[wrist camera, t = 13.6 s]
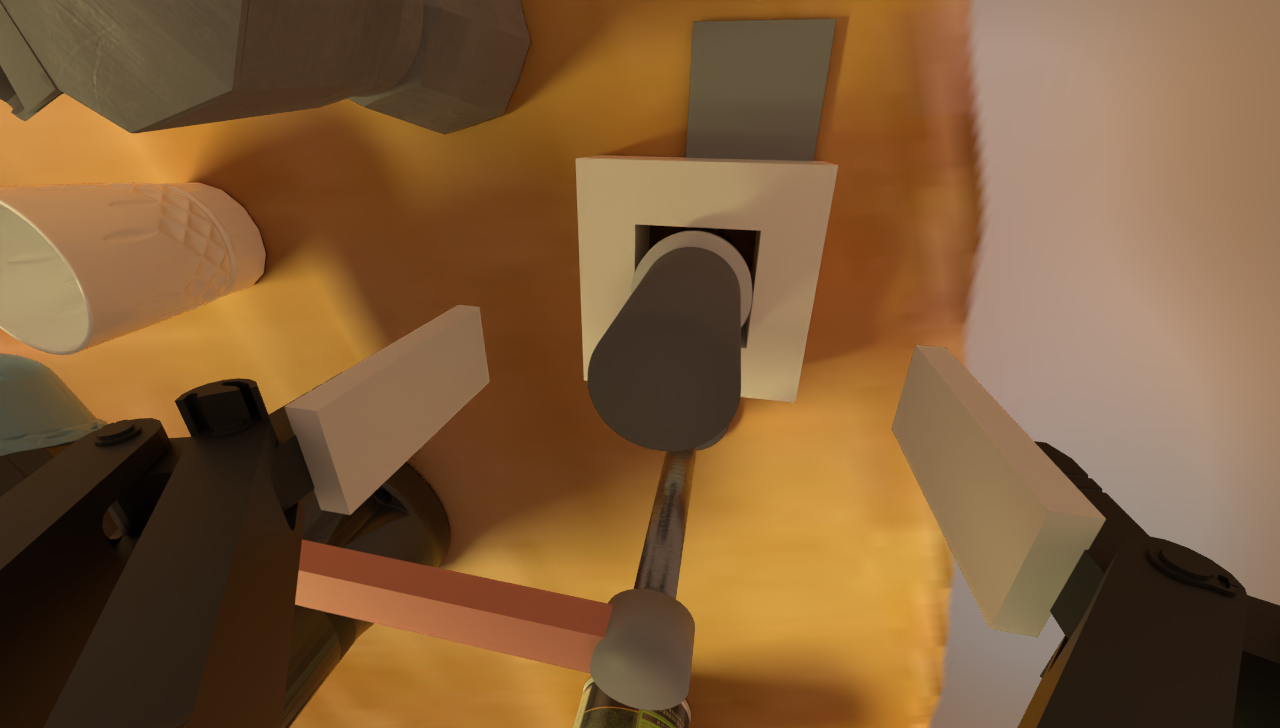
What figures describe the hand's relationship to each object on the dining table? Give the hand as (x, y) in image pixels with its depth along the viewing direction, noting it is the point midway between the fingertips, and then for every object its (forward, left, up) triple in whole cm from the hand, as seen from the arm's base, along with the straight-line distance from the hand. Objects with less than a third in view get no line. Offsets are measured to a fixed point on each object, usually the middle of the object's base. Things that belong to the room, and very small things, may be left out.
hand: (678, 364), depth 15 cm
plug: (0, 0, -13) cm, 13 cm away
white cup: (0, +31, -13) cm, 34 cm away
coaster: (+8, -2, -13) cm, 15 cm away
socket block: (0, 0, -13) cm, 13 cm away
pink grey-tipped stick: (-9, +7, +2) cm, 11 cm away
